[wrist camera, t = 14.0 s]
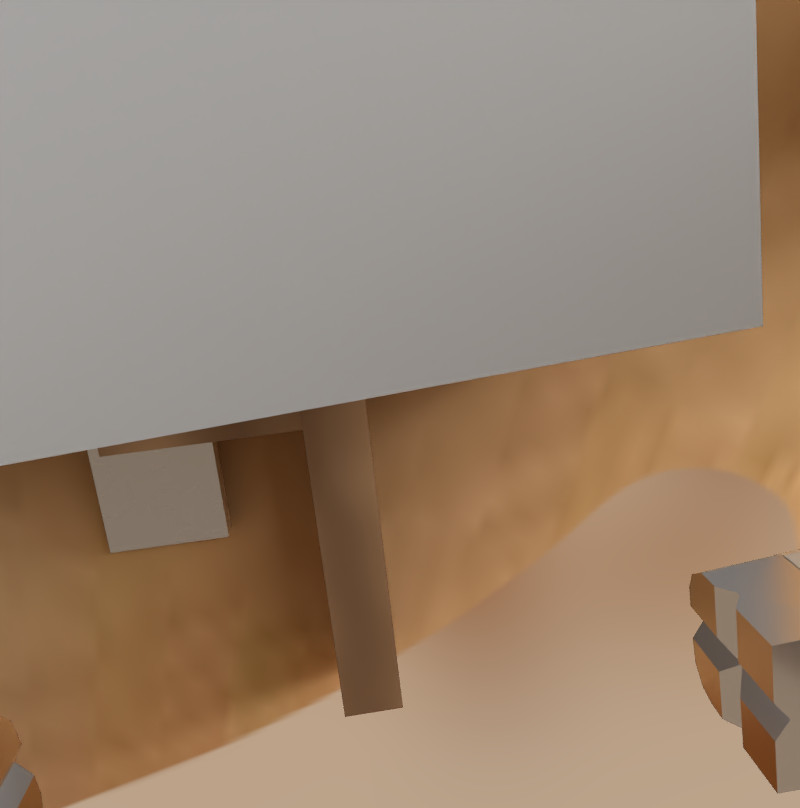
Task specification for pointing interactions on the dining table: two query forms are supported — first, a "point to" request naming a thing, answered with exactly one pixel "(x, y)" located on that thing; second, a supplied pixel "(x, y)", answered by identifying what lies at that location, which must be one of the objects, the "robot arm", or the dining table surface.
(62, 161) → the cabinet
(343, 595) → the wooden l-shaped bracket
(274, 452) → the dining table surface
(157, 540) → the stone tile
